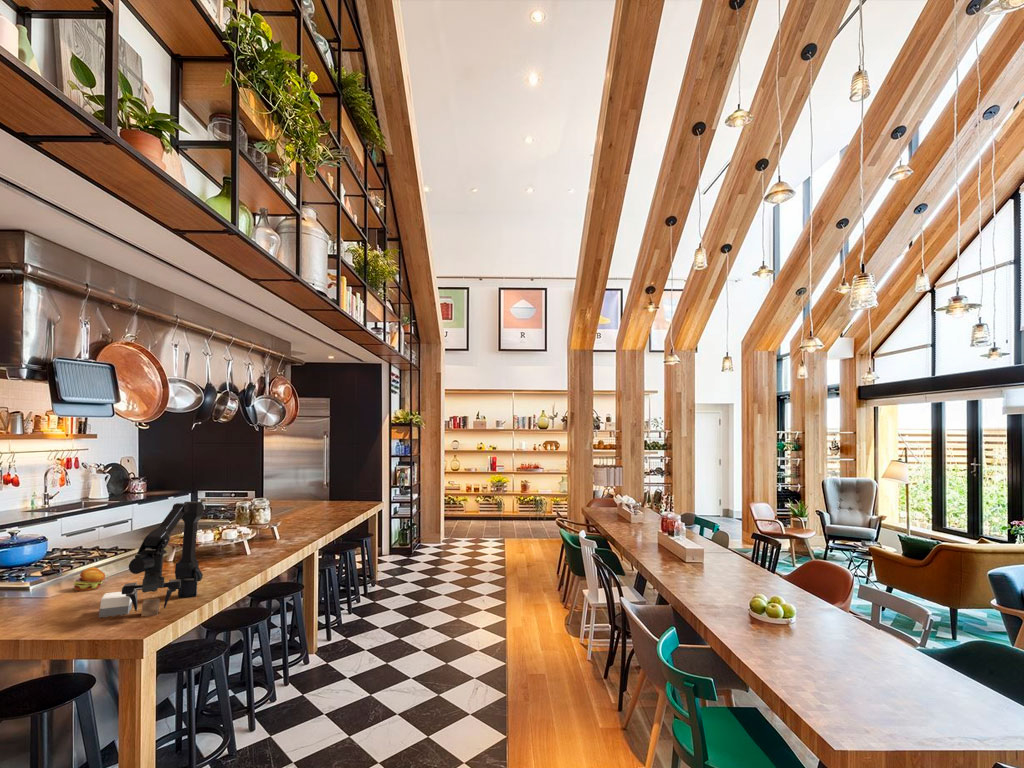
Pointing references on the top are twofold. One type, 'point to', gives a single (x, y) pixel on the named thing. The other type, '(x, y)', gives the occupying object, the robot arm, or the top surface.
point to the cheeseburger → (89, 579)
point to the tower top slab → (115, 600)
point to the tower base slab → (114, 611)
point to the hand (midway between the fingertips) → (150, 609)
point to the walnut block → (150, 607)
